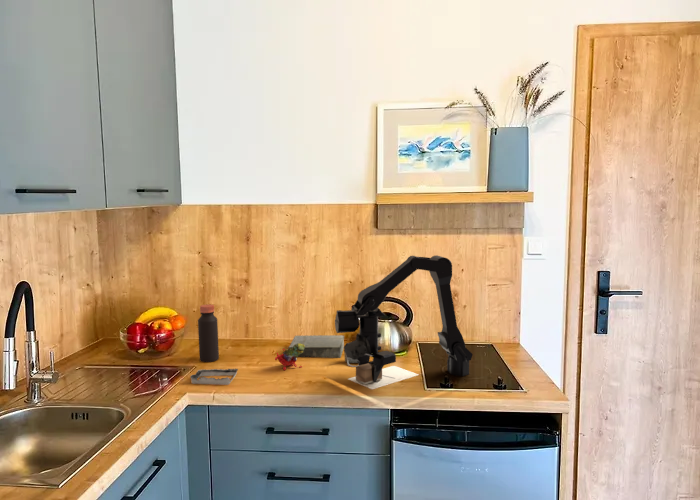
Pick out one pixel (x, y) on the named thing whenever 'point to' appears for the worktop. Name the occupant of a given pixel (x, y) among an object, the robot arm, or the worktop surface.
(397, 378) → the board
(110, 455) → the worktop surface
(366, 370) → the sanding block
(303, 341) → the stone block
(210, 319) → the bottle
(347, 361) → the ceramic mug
